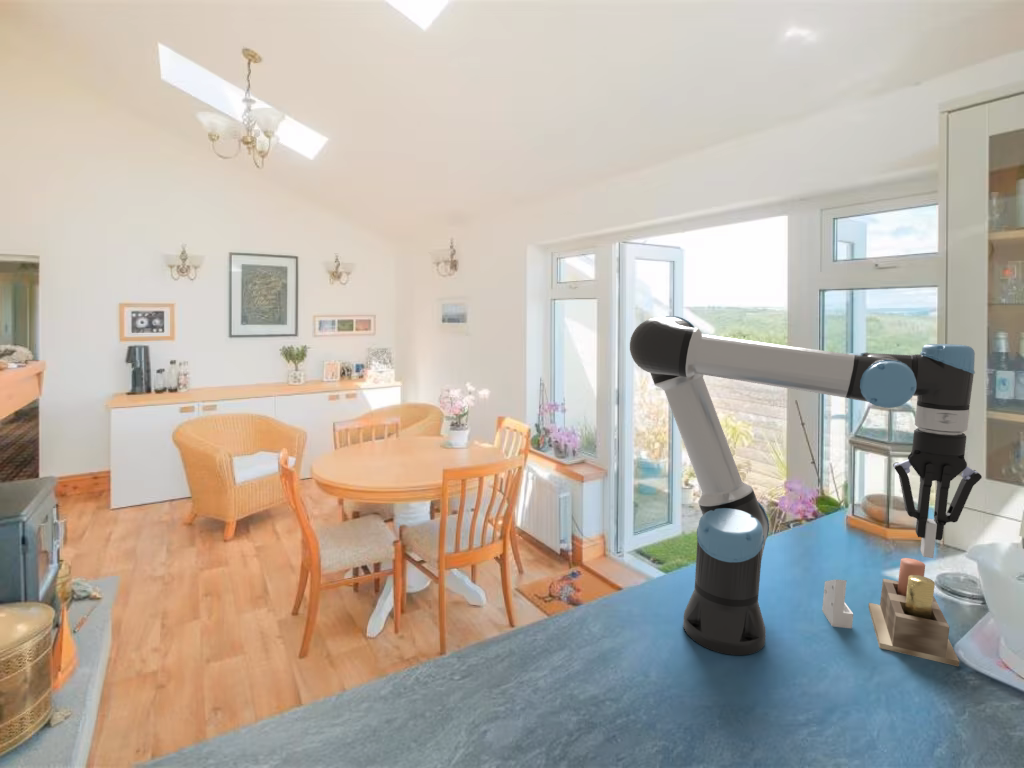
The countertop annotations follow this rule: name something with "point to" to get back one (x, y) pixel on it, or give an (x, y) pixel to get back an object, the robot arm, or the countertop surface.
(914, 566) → the red plug
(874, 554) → the countertop surface
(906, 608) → the brass plug
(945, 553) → the countertop surface
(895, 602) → the socket block
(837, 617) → the white wedge bracket
